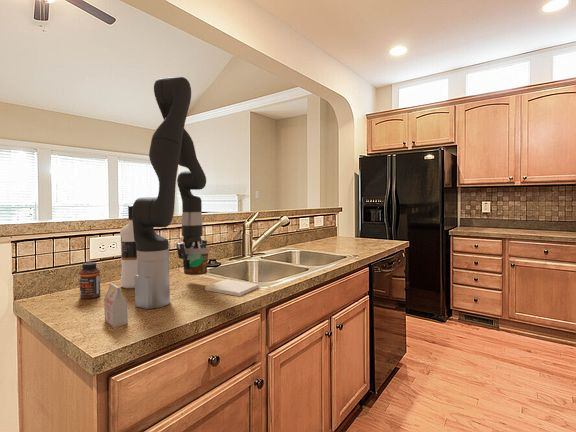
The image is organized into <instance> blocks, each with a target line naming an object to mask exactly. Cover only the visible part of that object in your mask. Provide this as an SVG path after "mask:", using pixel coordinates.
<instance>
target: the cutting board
mask: <svg viewBox="0 0 576 432" xmlns="http://www.w3.org/2000/svg"><path fill="white" fill-rule="evenodd" d="M258 288H260V284H259V283H253V282H247V281H242V280H235V279H234V280H233V279H227V278H226V279H223V280H221V281H218V282H215V283H212V284H209V285H207V286H204V290H205V291H208V292H214V293H218V294H219V293H220V294H225V295H231V296H236V297H241V296H243V295H245V294H247V293H249V292H252V291H254V290H257V289H258Z"/></svg>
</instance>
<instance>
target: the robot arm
mask: <svg viewBox="0 0 576 432" xmlns="http://www.w3.org/2000/svg"><path fill="white" fill-rule="evenodd" d="M153 94H154V97H155V101H156V104H157V106H158V108H159V111H160V114H161V116H162V119H163V121H161V123H160V124H159V125H158V127H156V130H155V131H154V133H153V134H152V137H151V141H150V146H149V153H148V157H149V161H150V163H151V166H152V168H153V170H154V172H155V175H156V176H157V180H158V195H157V196H142V197H138V198H136V199H135V200H134V202H133V204H132V205H133V208H132V221H133V232H134V240H135V243H136V247H137V275H135V288H134V298H135V300H134V301H135V303H134V304H135V307H138V308H140V309H141V308H142V309H146V310H151V309H157V308H161V307H165V306H167V305H169V304H170V303H171V289H170V287H171V285H170V279H171V278H170V249H169V248H170V247H169V240H168V238H166V237H163V236H161V235H160V234H158V233H157V232H156V231H155V229H154V228H167V227H169V226H170V225H171V224H172V221H173V218H174V215H175V214H174V213H175V203H176V201H175V200H176V199H175V198H176V185H177V187H178V190H179V195H180V198H181V201H182V202H181V203H182V206H181V207H182V208H181V209H182V213H181V236H182V239H183V240H182V241H181V242H177V243H176V244H175V245H176V249H177V255H178V259H180V260H182V261H183V262H182V264H184V265H182V267H183V270H184V269H185V270H189V269H190V262H189V259H190V257H189V254H187V256H186V255H185V249H184V248H190V249H199V248H207V243H208V240H207V239H202V237H203V213H202V208H203V207H202V198H201V197H200V196H196V195H193V193H192V190H195V191H199V190H203V189H204V188H205V187H206V184H207V177H206V173H205V172H204V170H203V167H202V166H201V163H200V161H199V160H198V158H197V154H196V148H195V145H194V141H193V139H192V137H191V134H189V133H188V131H187V130H186V128H185V125H186V120H187V115H188V113H189V110H190V106H191V105H190V104H191V101H192V87H191V84H190V81H189V80H188V79H187V78H186V77H183V76H172V77H162V78H157V80H155V81H154V84H153ZM179 166H181V167H184V168H186V169H188V170H183V171H181V172H180V173H178V169H179V168H178V167H179Z"/></svg>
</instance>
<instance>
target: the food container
mask: <svg viewBox="0 0 576 432" xmlns="http://www.w3.org/2000/svg"><path fill="white" fill-rule="evenodd" d="M184 249H185V255H186V256H187V254H189V257H190V259H189V262H190V269H189V270H185V269H184V268H183V274H184V275H189V276H200V275H201V276H202V275H206V274H207V272H208V271H207V270H208V259H209V254H210V249H209V247H206V248H199V249H190V248H184ZM182 264H183V263H182ZM182 266H184V264H183V265H182Z"/></svg>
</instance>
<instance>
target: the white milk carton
mask: <svg viewBox="0 0 576 432" xmlns="http://www.w3.org/2000/svg"><path fill="white" fill-rule="evenodd" d="M103 303H104V305H103V307H104V321H105V322H106V323H107V324H108V325H109V326H111V328H117V327H120V326H124V325H129V317H128V316H129V315H128V301H127V299H126V297H125V296H124V295H123V293H122V291H121V288H120V287H119V286H117V285H115V284H114V283H113V282H109V286H108V289H107V292H106V294H105V297H104V299H103Z"/></svg>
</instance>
